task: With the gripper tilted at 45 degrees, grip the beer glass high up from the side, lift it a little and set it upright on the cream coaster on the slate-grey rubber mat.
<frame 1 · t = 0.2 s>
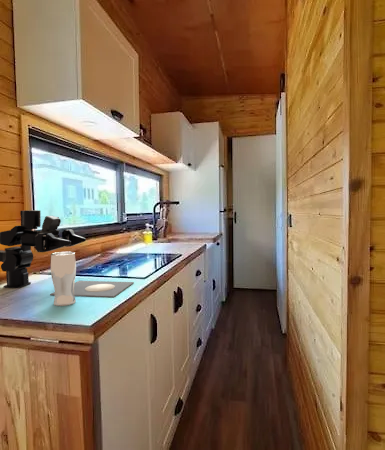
hand: (78, 241, 106), 17 cm above the worktop, tool horizontal, fingers open, 9 cm apart
beer glass: (64, 303, 91), on the worktop
slate mat: (94, 288, 106), on the worktop
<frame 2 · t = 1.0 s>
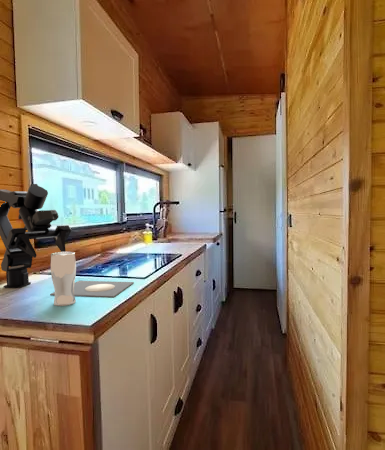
hand: (50, 254, 95), 14 cm above the worktop, tool tilted 45°, fingers open, 9 cm apart
nothing on the worktop moved.
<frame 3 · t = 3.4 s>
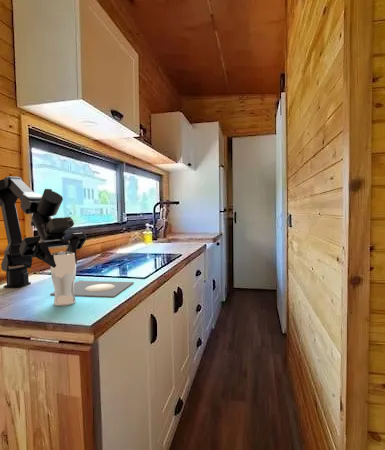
hand: (65, 265, 89), 12 cm above the worktop, tool tilted 45°, fingers closed on beer glass, 6 cm apart
beer glass: (64, 303, 91), on the worktop, touching gripper
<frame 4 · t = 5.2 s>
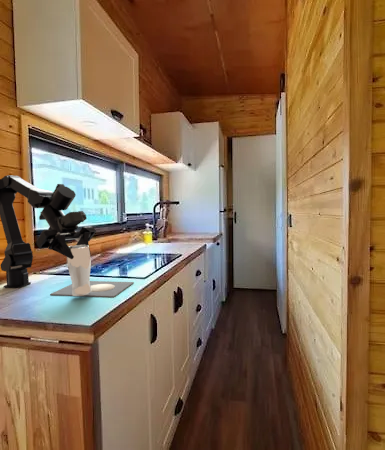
hand: (81, 256, 94), 13 cm above the worktop, tool tilted 45°, fingers closed on beer glass, 6 cm apart
beer glass: (81, 293, 96), point 1 cm above the worktop, touching gripper
when the fingers open (13 cm above the worktop, at t = 7.2 s): beer glass stays where it is, resting on slate mat.
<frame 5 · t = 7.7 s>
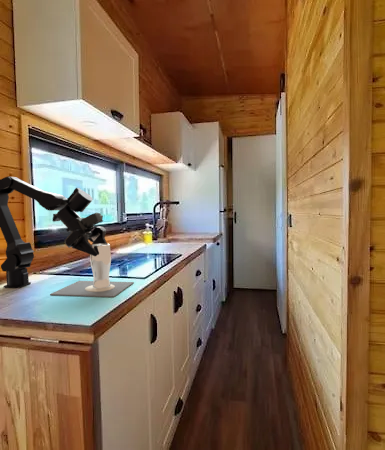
hand: (103, 253, 105), 13 cm above the worktop, tool tilted 45°, fingers open, 9 cm apart
beer glass: (101, 287, 107), resting on slate mat
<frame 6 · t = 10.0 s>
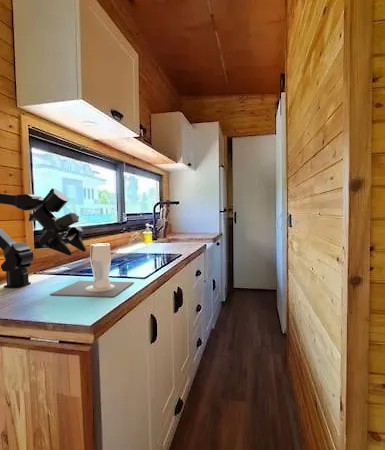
hand: (78, 252, 107), 13 cm above the worktop, tool tilted 45°, fingers open, 9 cm apart
nothing on the worktop moved.
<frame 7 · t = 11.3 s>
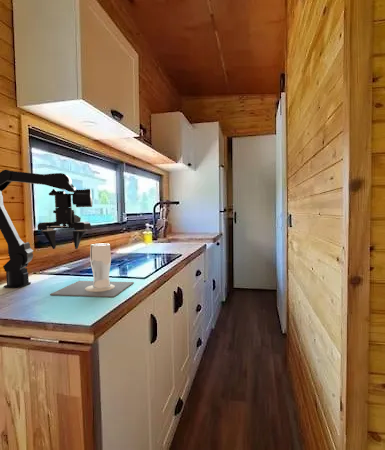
hand: (65, 248, 115), 13 cm above the worktop, tool pointing down, fingers open, 9 cm apart
nothing on the worktop moved.
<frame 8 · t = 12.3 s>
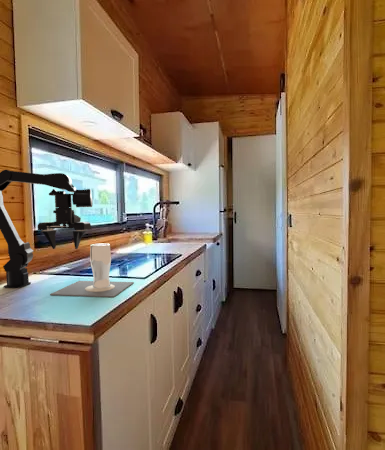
hand: (65, 248, 115), 13 cm above the worktop, tool pointing down, fingers open, 9 cm apart
nothing on the worktop moved.
at the end: beer glass inside the target area on the slate mat (1.4 cm from its centre), point 0.3 cm above the slate mat's base; beer glass tilted 0°; the gripper is holding nothing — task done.
